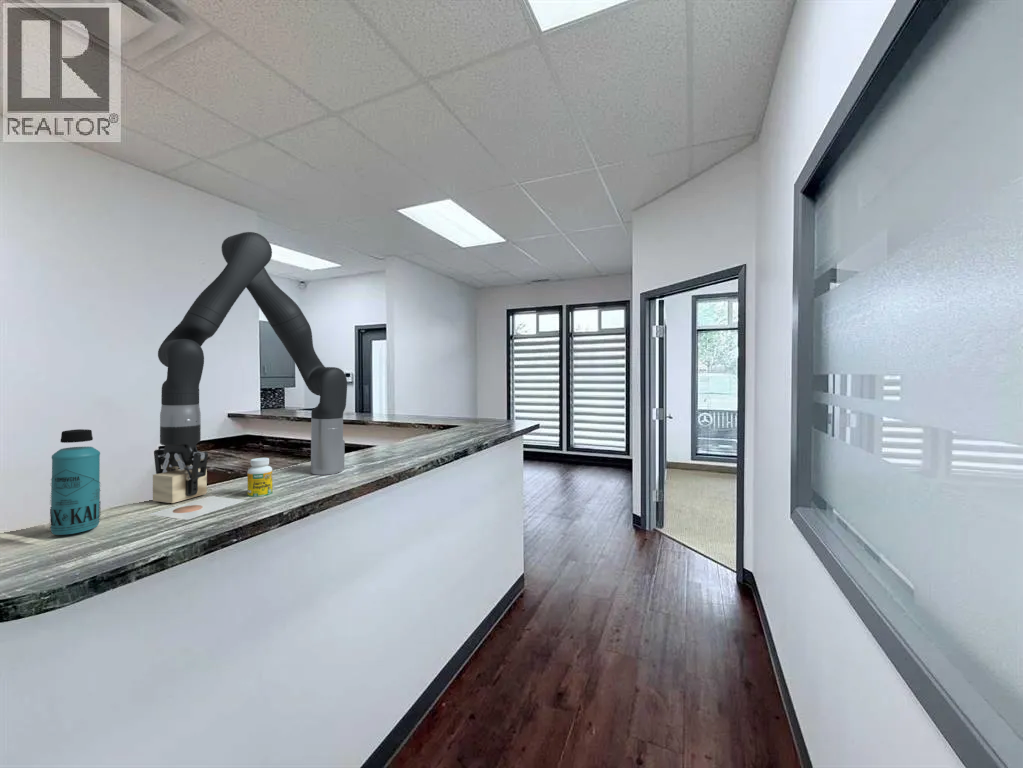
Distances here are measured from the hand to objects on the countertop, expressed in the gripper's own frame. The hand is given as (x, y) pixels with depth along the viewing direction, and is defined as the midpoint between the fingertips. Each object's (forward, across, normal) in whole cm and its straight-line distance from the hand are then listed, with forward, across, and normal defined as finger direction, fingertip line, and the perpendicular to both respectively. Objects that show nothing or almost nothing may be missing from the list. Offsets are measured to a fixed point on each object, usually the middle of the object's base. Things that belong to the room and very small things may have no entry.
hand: (180, 493), depth 98 cm
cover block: (+1, 0, 0) cm, 1 cm away
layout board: (+2, -10, +3) cm, 11 cm away
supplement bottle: (+2, -14, -9) cm, 17 cm away
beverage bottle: (+2, -3, +21) cm, 21 cm away
